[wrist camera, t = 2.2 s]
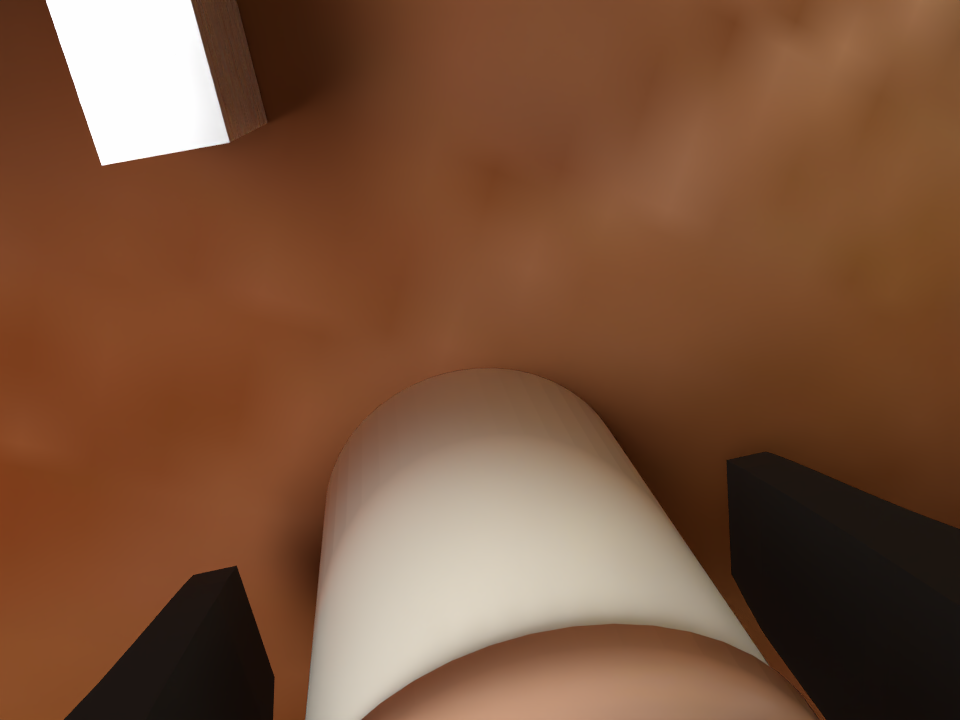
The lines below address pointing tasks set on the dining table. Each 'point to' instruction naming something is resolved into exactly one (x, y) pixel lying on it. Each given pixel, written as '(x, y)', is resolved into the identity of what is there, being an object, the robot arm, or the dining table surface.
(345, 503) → the cream jar
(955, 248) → the dining table surface
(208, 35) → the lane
